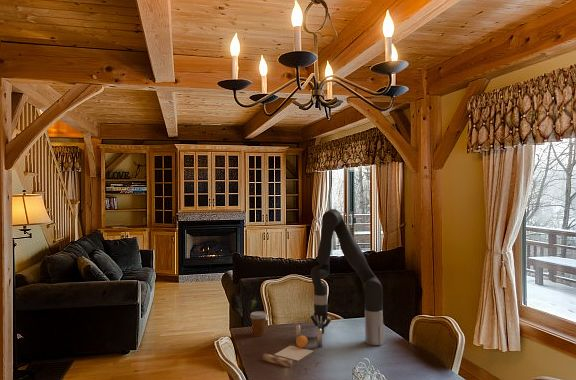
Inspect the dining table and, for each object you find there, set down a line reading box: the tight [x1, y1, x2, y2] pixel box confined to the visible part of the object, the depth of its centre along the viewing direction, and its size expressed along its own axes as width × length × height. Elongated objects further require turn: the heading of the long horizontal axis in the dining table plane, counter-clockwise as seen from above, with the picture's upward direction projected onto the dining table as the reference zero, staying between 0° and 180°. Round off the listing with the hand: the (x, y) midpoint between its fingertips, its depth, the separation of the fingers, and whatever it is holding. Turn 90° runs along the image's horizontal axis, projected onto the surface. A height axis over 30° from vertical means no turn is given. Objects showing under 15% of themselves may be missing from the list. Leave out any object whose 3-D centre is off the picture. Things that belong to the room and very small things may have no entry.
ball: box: [295, 334, 309, 349], centre depth 209 cm, size 6×6×6 cm
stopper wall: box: [262, 353, 294, 368], centre depth 191 cm, size 16×2×2 cm, turn 55°
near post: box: [316, 328, 323, 349], centre depth 210 cm, size 3×3×9 cm
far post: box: [295, 323, 302, 341], centre depth 217 cm, size 3×3×9 cm
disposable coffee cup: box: [249, 310, 268, 337], centre depth 230 cm, size 10×10×12 cm
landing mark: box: [273, 345, 314, 362], centre depth 202 cm, size 14×14×1 cm
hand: (321, 334), depth 224 cm, fingers closed
